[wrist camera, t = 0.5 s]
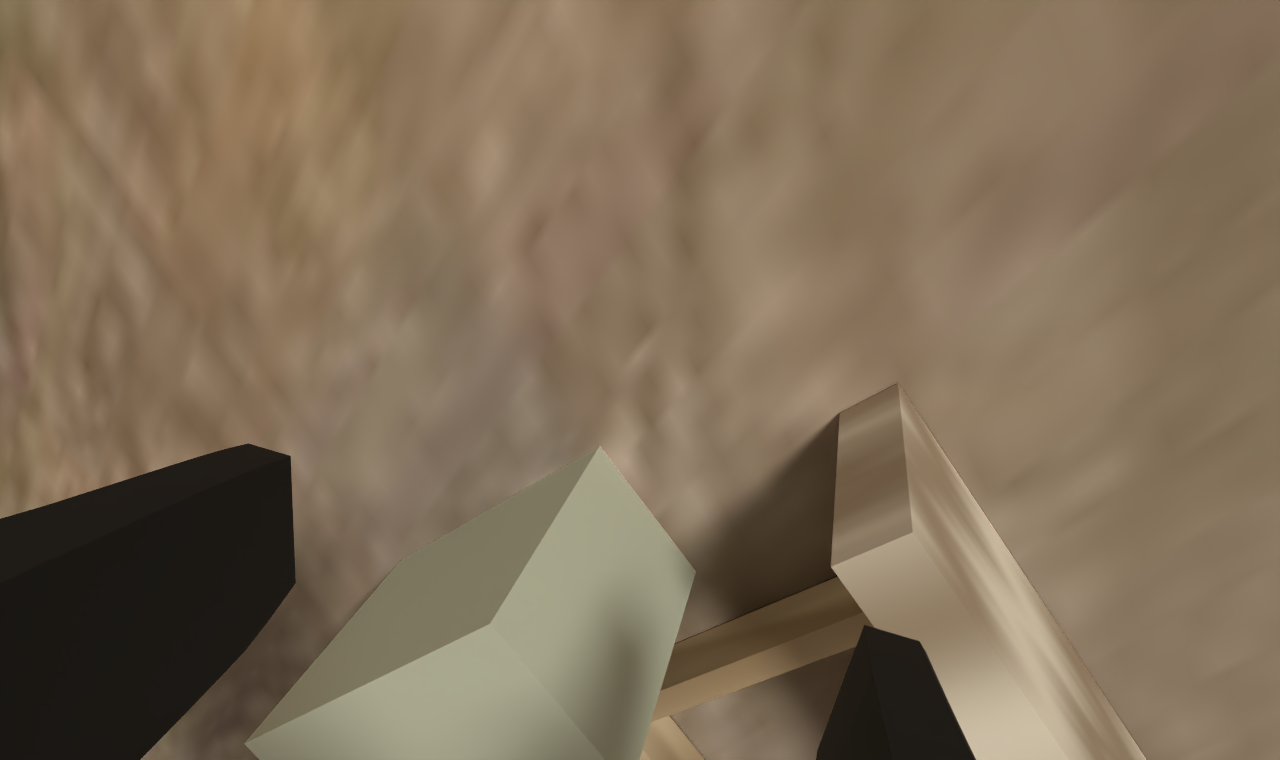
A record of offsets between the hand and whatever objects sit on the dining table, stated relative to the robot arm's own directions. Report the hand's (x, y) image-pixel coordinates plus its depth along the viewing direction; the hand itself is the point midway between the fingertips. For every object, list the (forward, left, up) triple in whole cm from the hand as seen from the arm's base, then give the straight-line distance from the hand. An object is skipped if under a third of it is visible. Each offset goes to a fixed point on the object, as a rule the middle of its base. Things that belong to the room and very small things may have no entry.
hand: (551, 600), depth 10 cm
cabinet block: (-4, +8, -10) cm, 14 cm away
